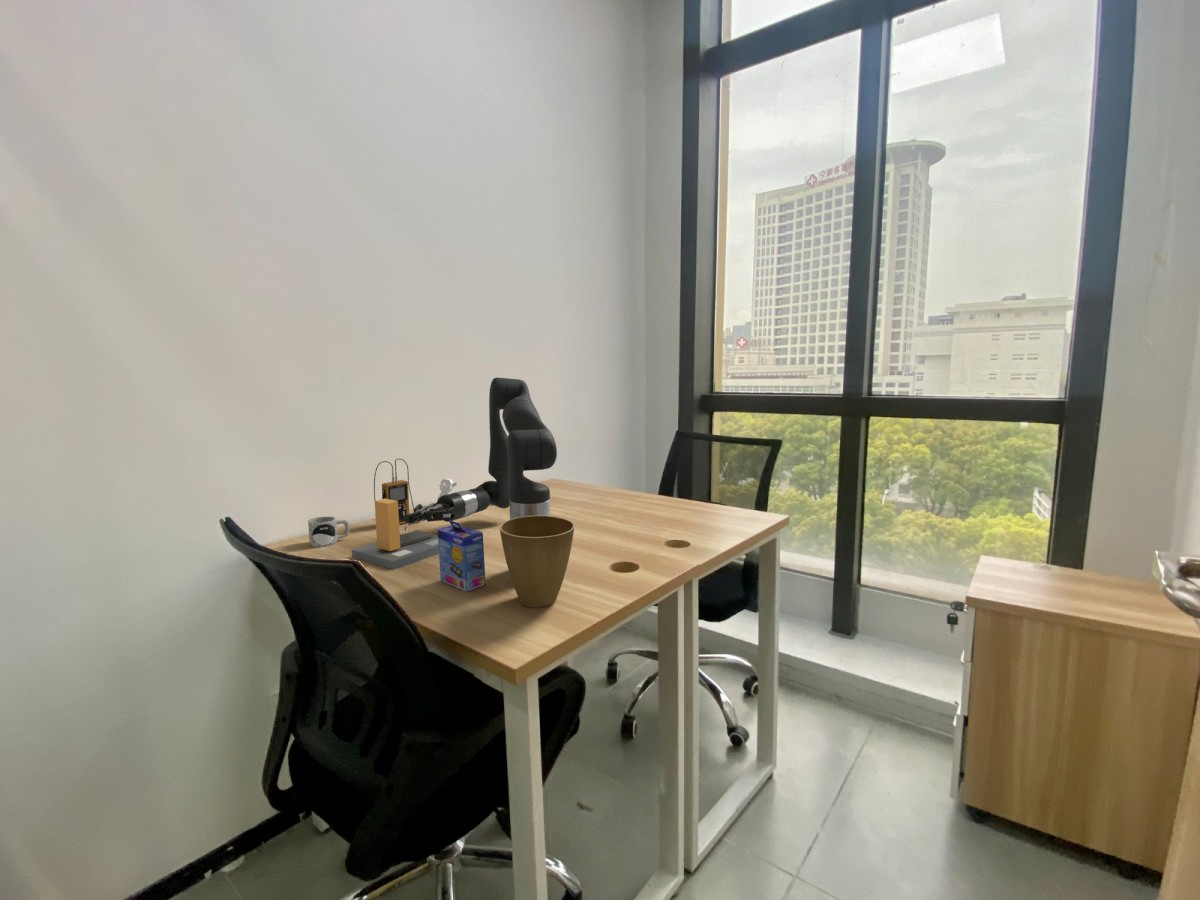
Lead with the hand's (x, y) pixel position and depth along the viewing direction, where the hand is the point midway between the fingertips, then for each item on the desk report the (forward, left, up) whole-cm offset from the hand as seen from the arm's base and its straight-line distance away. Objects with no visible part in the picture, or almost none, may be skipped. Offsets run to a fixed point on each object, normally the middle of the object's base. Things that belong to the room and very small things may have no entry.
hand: (407, 519), depth 144 cm
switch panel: (0, +1, -8) cm, 9 cm away
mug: (+24, +7, -9) cm, 26 cm away
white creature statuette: (+20, -30, -9) cm, 37 cm away
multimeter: (+20, -14, -9) cm, 26 cm away
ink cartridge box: (-28, +8, -9) cm, 30 cm away
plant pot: (-48, +6, -9) cm, 49 cm away
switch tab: (0, +6, -6) cm, 8 cm away
